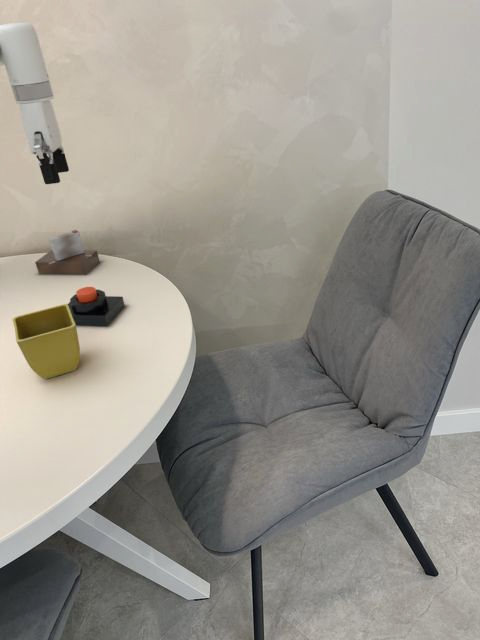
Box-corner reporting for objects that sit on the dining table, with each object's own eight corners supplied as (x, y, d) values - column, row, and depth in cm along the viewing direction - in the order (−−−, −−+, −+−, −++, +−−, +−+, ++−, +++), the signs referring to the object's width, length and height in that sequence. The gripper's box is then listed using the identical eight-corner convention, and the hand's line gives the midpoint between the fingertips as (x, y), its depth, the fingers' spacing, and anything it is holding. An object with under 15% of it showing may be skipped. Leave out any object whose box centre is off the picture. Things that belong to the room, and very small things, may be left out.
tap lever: (57, 261, 123) (51, 239, 120) (55, 259, 124) (48, 237, 122) (84, 252, 126) (78, 230, 124) (82, 250, 128) (76, 229, 125)
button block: (59, 325, 103) (53, 306, 101) (79, 305, 110) (74, 287, 108) (107, 326, 101) (102, 307, 99) (125, 306, 108) (120, 288, 106)
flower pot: (90, 373, 88) (75, 324, 83) (34, 390, 85) (15, 341, 80) (81, 348, 95) (67, 302, 90) (29, 364, 92) (11, 317, 87)
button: (75, 303, 102) (72, 294, 102) (84, 294, 105) (81, 286, 105) (92, 303, 102) (90, 295, 101) (101, 294, 105) (98, 286, 104)
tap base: (36, 276, 125) (31, 263, 123) (57, 260, 132) (53, 247, 131) (85, 277, 122) (81, 263, 120) (103, 260, 130) (100, 247, 128)
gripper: (25, 90, 119) (49, 170, 128) (2, 100, 104) (30, 190, 113) (60, 86, 119) (81, 166, 128) (42, 96, 105) (67, 185, 114)
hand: (57, 177), depth 121 cm, fingers open, 9 cm apart
